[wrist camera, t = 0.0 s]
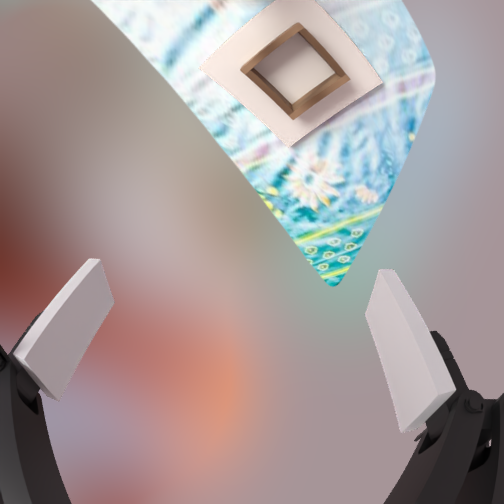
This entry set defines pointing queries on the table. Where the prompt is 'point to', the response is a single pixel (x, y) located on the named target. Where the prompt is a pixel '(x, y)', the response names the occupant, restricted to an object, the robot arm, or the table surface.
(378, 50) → the table surface
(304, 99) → the collar
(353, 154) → the table surface
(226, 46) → the tile
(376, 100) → the table surface
